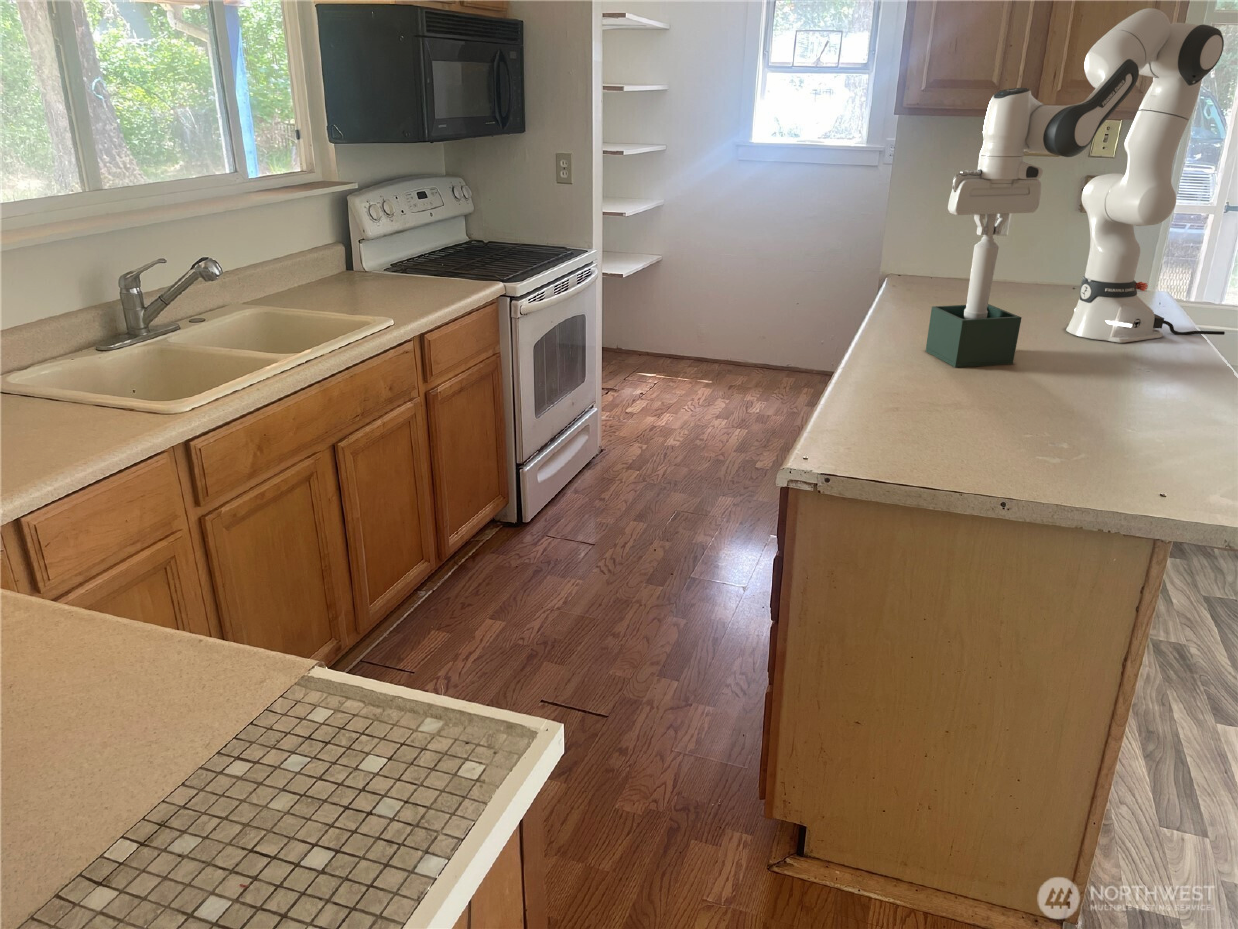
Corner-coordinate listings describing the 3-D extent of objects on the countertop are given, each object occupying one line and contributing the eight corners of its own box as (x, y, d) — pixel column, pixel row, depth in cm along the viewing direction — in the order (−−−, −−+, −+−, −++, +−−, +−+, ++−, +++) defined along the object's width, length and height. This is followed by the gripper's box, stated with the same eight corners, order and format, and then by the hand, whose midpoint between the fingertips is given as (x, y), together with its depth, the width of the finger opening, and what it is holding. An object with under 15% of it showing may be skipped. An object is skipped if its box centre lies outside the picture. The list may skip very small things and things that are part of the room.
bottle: (988, 321, 199) (1007, 208, 189) (964, 320, 200) (982, 208, 190) (984, 316, 204) (1003, 205, 194) (961, 315, 205) (978, 205, 195)
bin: (980, 347, 213) (987, 303, 209) (1013, 363, 201) (1021, 317, 196) (925, 351, 211) (931, 306, 206) (955, 367, 198) (962, 320, 194)
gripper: (963, 171, 184) (953, 238, 190) (1049, 169, 188) (1037, 235, 193) (947, 169, 190) (938, 233, 195) (1032, 167, 193) (1020, 230, 199)
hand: (988, 234), depth 194 cm, fingers closed on bottle, 2 cm apart
